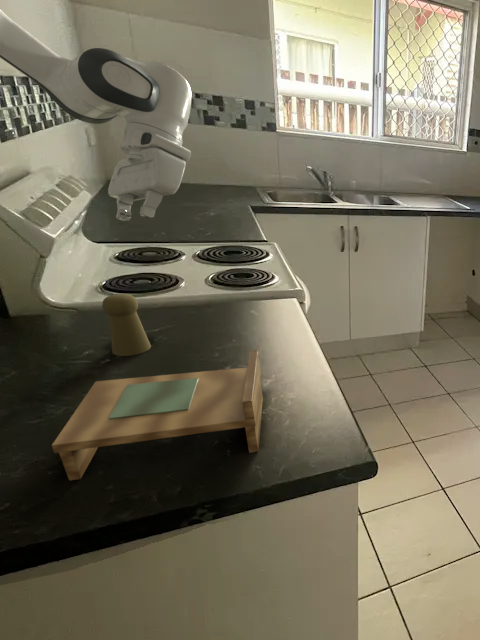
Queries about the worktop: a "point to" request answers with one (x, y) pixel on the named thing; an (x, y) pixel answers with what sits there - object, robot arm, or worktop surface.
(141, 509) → the worktop surface
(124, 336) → the cork
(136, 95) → the robot arm
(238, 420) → the shelf
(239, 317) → the worktop surface
